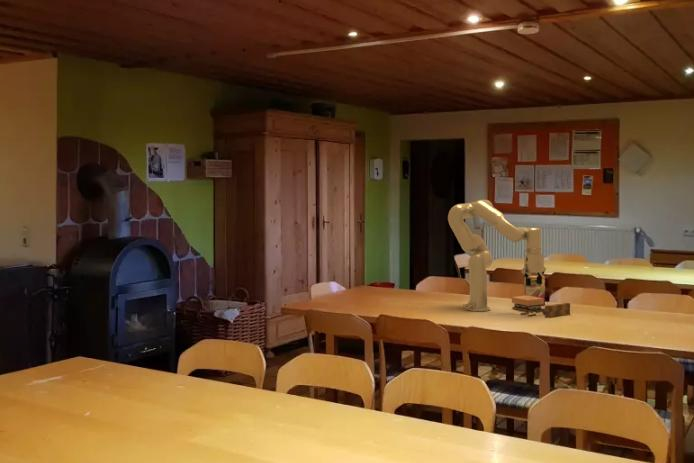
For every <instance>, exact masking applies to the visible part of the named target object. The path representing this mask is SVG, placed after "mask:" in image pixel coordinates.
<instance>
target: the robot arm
mask: <svg viewBox="0 0 694 463" xmlns="http://www.w3.org/2000/svg"><path fill="white" fill-rule="evenodd" d="M476 217H477V218H478V217H479V218H480V219H482V220H484V221H485V222H486V223H487V224H489V225H491V226H492V227H493V228H494V229H495V230H496V231H497V232H498V233H499V234H501V236H503V237H504V238H506V239H507V240H509V241H511V242H513V243H519V242H524V241H525V242H526V243H525V246H526V248H525V250H524V251H525V256H524V266H523V268H522V269H521V271H520V272H521V274H522V275H523V277H524V279H525V278H526V285H528V286H531V278H530V276H532V274H536V276H537V279H538V280H539V281H540V284H542V277H543V276H544V274H545V272H546V271H547V268H546V267H545V262H544V256H543V253H542V232H541V231H542V230H541V228H539V227H527V226H526V227H524V226H518V227H516V226H515V225H513V224H511V223H510V222H509V221H508V220H506V218H505V215H504V214H503V212H501V211H500V210H498V209H497V208H495V207H494V205H493V203H492V202H491V201H490V200H488V199H478V200H476V201H472V202H466V203H458V204H455V205H454V206H452V207H451V208H450V210H449V212H448V215H447V221H448V224H449V226H450V228H451V230H452V232H453V233H454V236H455V238H456V239H457V241H458V244H459V245H460V247H461V249H462V250H463V251H464V252H465V253H471V255H470V256H469V258H468V260H467V261H468V262H467V266H468V272H469V301H468V302H467V303H463V304H462V307H463V308H466V309H467V310H468V311H471V312H488V311H490V310H491V307H490V306H488V274H487V268H489V267H490V266H491V265H492V264H493V255H492V253H491V251H490V250H489V248H488V246H487V244H486V242H485V240H484V239H483V238H482V237H481V236H480V235H479V234H475V233H472V231H471V229H470V227H469V226H468V224H467V223H466V222H465V221H464V220H465V219H472V218H476Z"/></svg>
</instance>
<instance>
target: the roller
mask: <svg viewBox="0 0 694 463" xmlns="http://www.w3.org/2000/svg"><path fill="white" fill-rule="evenodd" d="M539 285H540V281H539V280H538V279H537V280H531V286H528V285H526V286H527V287H533V286H539Z"/></svg>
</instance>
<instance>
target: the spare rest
mask: <svg viewBox="0 0 694 463" xmlns="http://www.w3.org/2000/svg"><path fill="white" fill-rule="evenodd" d="M520 315H521V316H525V315H527V317H530V318H531V317H536V316H537V313H530V312H526V311H525V312H521V313H520Z"/></svg>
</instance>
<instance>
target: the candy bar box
mask: <svg viewBox="0 0 694 463" xmlns="http://www.w3.org/2000/svg"><path fill="white" fill-rule="evenodd" d="M537 276H538V275H531V276H530V278H531V280H537ZM523 285H524V287H523V288H524V290H523V291H524V293H523V296H526V295H527V296H533V297H538V298H544V304H540V305H541V306H546V276H545V275H543V277H542V284H540V285H539V286H533V287H527V286H526V278H525V277H524V284H523Z"/></svg>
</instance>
